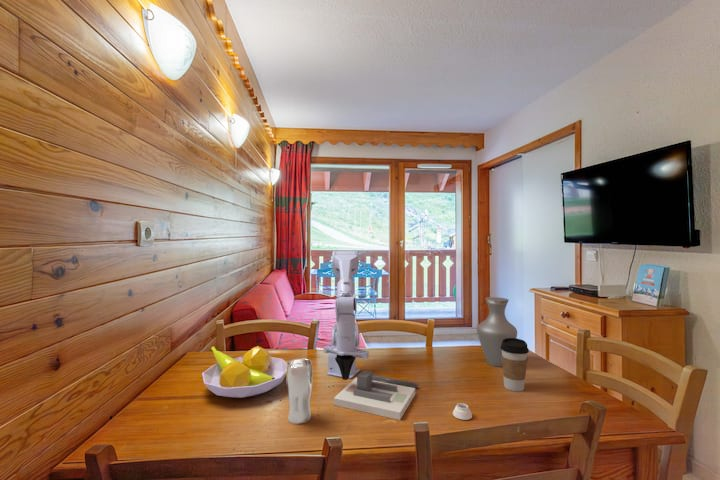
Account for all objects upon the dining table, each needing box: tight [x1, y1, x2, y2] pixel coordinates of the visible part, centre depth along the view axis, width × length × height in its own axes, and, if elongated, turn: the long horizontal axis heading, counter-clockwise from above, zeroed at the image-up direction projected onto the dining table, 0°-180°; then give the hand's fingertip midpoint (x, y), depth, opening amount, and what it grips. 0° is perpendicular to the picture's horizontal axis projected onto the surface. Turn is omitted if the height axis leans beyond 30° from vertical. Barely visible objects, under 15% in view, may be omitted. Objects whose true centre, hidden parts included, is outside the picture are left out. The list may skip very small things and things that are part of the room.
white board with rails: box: [333, 374, 419, 421], centre depth 105 cm, size 20×21×4 cm
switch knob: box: [356, 369, 373, 392], centre depth 104 cm, size 3×5×5 cm, turn 156°
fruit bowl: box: [201, 345, 288, 399], centre depth 111 cm, size 28×27×11 cm
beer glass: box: [285, 357, 314, 425], centre depth 92 cm, size 7×7×15 cm
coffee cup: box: [500, 338, 530, 392], centre depth 111 cm, size 8×8×15 cm
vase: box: [476, 296, 518, 368], centre depth 132 cm, size 14×14×25 cm
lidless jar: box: [452, 402, 473, 421], centre depth 94 cm, size 5×3×5 cm
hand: (345, 378), depth 107 cm, fingers closed
